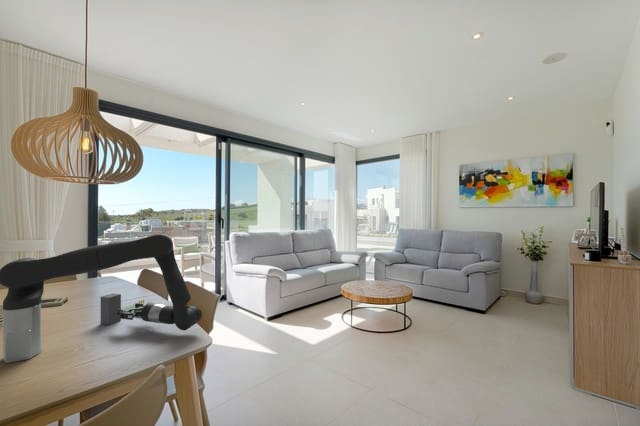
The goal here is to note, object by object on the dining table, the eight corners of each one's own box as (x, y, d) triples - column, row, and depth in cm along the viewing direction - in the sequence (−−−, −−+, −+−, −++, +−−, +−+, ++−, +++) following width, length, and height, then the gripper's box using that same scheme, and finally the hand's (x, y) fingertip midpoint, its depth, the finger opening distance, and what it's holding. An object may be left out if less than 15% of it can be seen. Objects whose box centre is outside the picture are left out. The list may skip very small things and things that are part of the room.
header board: (164, 309, 148) (164, 298, 148) (143, 317, 137) (143, 305, 136) (139, 305, 153) (139, 295, 152) (117, 313, 141) (117, 302, 141)
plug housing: (120, 320, 132) (120, 294, 132) (108, 325, 127) (108, 297, 127) (112, 319, 134) (112, 293, 134) (100, 323, 128) (100, 296, 128)
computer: (21, 310, 145) (21, 303, 145) (30, 305, 153) (30, 298, 153) (61, 306, 151) (61, 300, 151) (68, 302, 158) (68, 296, 158)
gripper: (169, 299, 130) (141, 295, 134) (141, 309, 116) (111, 305, 121) (169, 316, 130) (141, 311, 134) (141, 328, 116) (111, 323, 121)
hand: (127, 308), depth 128 cm, fingers open, 8 cm apart
